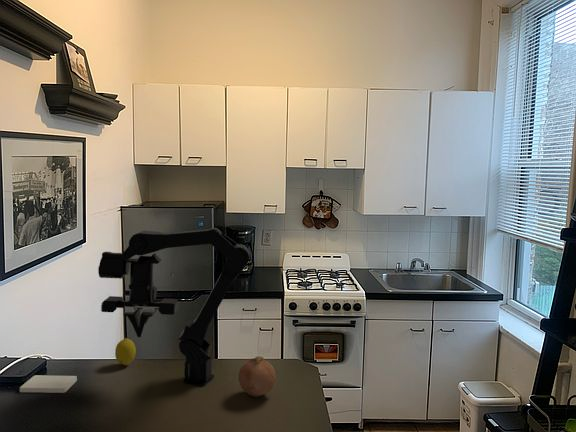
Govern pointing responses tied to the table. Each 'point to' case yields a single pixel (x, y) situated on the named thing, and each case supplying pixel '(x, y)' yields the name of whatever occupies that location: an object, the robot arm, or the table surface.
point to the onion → (257, 376)
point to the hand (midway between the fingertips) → (139, 336)
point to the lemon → (125, 351)
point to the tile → (48, 384)
